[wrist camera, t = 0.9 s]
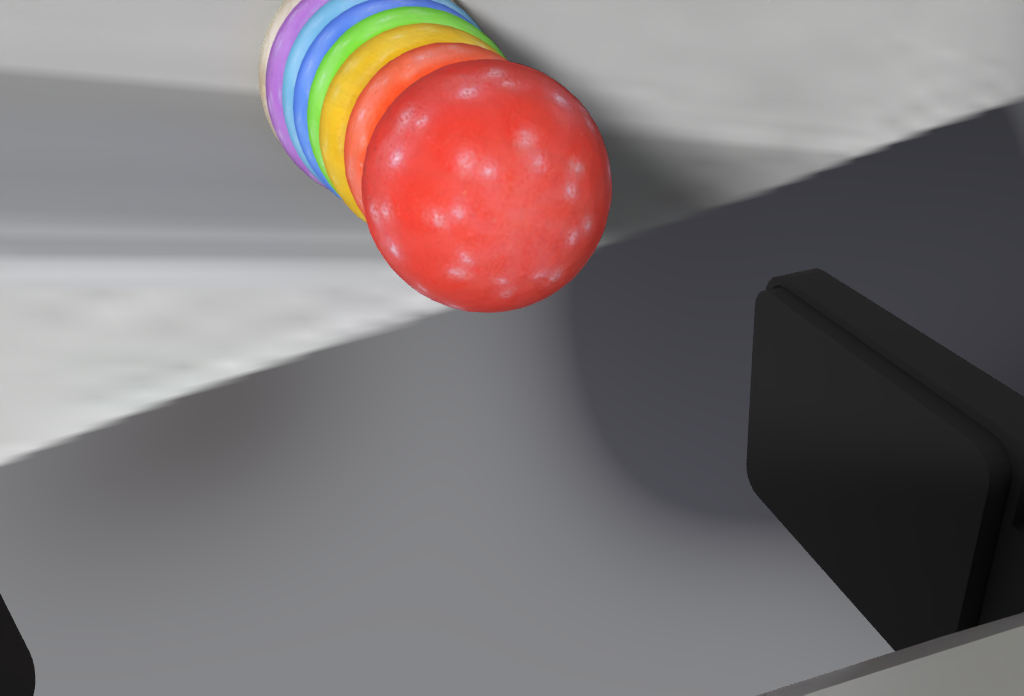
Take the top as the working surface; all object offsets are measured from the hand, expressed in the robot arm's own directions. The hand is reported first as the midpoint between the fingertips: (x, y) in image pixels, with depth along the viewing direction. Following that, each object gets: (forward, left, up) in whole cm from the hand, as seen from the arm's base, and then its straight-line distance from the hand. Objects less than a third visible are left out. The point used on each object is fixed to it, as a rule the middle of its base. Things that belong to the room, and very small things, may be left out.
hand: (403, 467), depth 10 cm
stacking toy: (0, +3, -25) cm, 25 cm away
